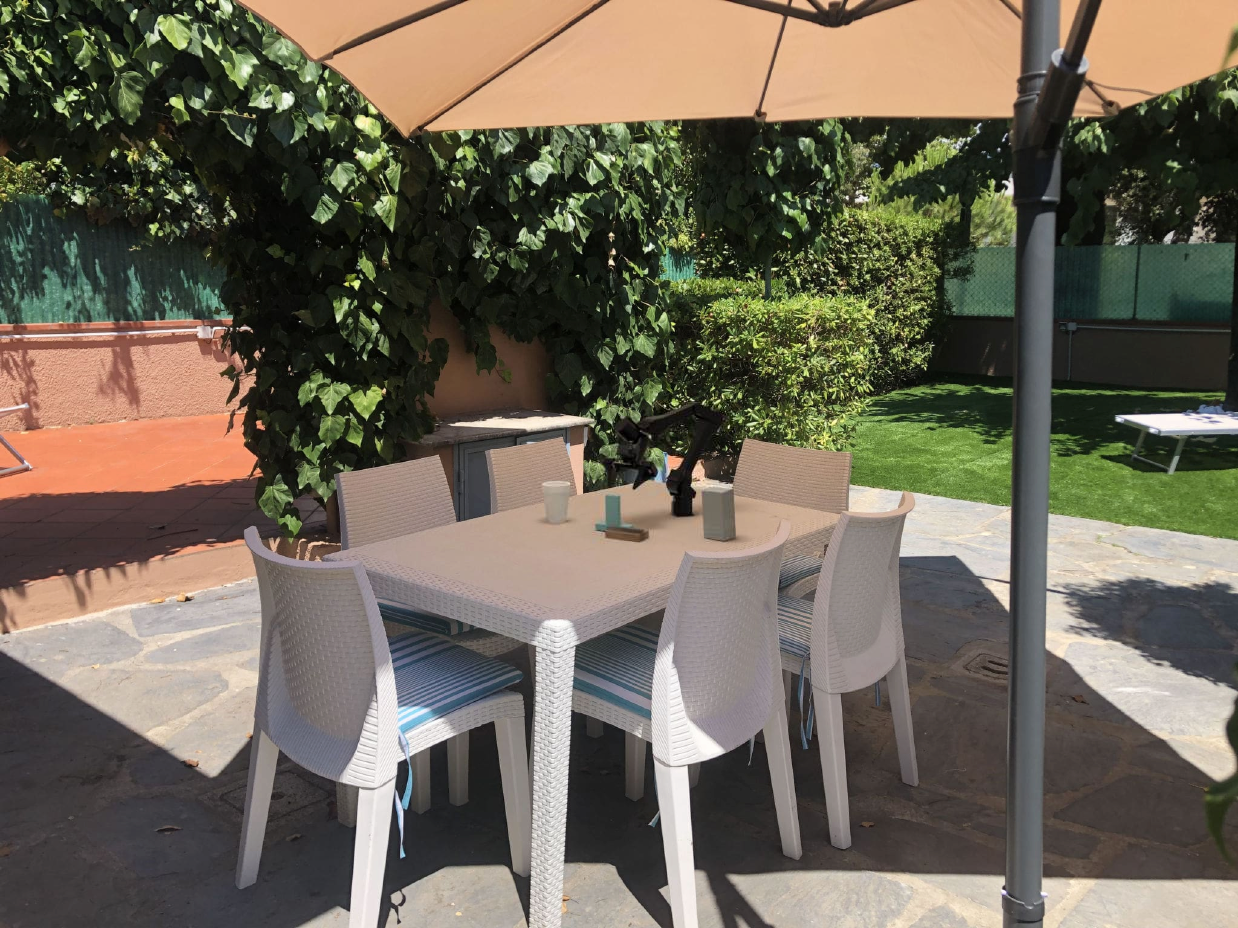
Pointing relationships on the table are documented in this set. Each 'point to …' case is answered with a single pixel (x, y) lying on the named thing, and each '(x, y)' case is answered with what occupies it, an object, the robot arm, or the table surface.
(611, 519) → the teal t-shaped block
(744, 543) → the table surface
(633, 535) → the board
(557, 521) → the foam cup
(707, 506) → the skincare box
